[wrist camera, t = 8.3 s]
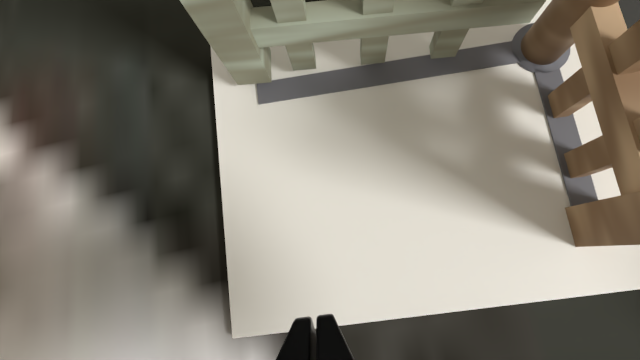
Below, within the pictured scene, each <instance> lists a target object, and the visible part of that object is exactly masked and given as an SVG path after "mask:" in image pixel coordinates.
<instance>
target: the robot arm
mask: <svg viewBox="0 0 640 360" xmlns="http://www.w3.org/2000/svg"><path fill="white" fill-rule="evenodd" d="M276 360H354V358H353V356H352V354H351V351H350V349H349V347H348V345H347V343H346V341H345V339H344V336H343V334H342V332H341V330H340V328H339V326H338V324H337V322H336V319H335V317H334V315H333V314H324V315H319V316H317V319H316V332H315V328H314V324H313V321H312V318H311V317H309V316H308V317H300V318H296V319H295V320H294V321H293V323H292V326H291V328H290V330H289V332H288V334H287V337H286V339H285V341H284V343H283V345H282V348H281V350H280V352H279V354H278V356H277V359H276Z"/></svg>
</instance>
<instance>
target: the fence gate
mask: <svg viewBox="0 0 640 360" xmlns="http://www.w3.org/2000/svg"><path fill="white" fill-rule="evenodd" d="M180 2H181V3H182V5H183V6H184V8H185V9H186V11H187V12H188V13H189V15H190V16H191V18H192V19H193V21H194V22H195V24H196V25H197V27H198V28H199V29H200V31H201V32H202V34H203V35H204V37H205V38H206V40H207V41H208V43H209V44H210V46H211V47H212V48H213V50H214V51H215V53H216V54H217V56H218V57H219V59H220V60H221V62H222V63H223V65H224V66H225V67H226V69H227V70H228V72H229V73H230V75H231V76H232V78H233V79H234V81H235V82H236V84H237V85H246V84H258V83H269V82H272V78H271V50H270V47H273V46H284V45H285V47H286V50H287V53H288V56H289V59H290V62H291V65H292V68H293V71H295V70H307V69H316V56H315V50H314V45H313V43H317V42H328V41H339V40H350V39H360V59H361V65H365V64H376V63H385V57H386V51H387V45H388V39H389V36H393V35H404V34H415V33H426V32H434V34H433V37H432V40H431V43H430V45H429V49H430V57H431V59H434V58H446V57H455V56H456V54H457V52H458V50H459V48H460V46H461V44H462V42H463V40H464V38H465V36H466V34H467V32H468V30H469V28H480V27H491V26H502V25H513V24H524V23H530V22H531V20H532V19H533V18H534V16H535V15H536V14H537V12H538V11H539V10H540V8H541V7H542V6H543V4H544V3H545V2H546V0H325V1H315V2H305V0H270V2H271V5H272V6H265V7H255V8H253V5H252V3H251V0H180Z"/></svg>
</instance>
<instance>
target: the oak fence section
mask: <svg viewBox="0 0 640 360" xmlns="http://www.w3.org/2000/svg"><path fill="white" fill-rule="evenodd" d="M618 1H619V0H552V1H551V2H550V4H549V5H548V6H547V7H546V9H545V10H544V11H543V13H542V14H541V15H540V16H539V18H538V19H537V20H536V22H535V23H534V24H533V25H532V27H531V28H530V29H529V31H528V32H527V33H526V34H525V36H524V37H523V39H522V41H521V51H522V54H523V55H524V57H525V58H526V59H527V60H529V61H530V62H532V63H534V64H538V65H548V64H551V63H553V62H555V61H556V60H557V59H558V58H559V57H561V56H562V55H563V54H564V53H565V52H566V51H567V50H568V49H569V48H570V47H571V46H572V45H573V44H574V43H575V46H576V50H577V53H578V56H579V60H580V63H581V66H582V68H580V69H579V70H578V71H577V72H575V73H574V74H573V75H572V76H571V77H569V78H568V79H567V80H566V81H565V82H563V83H562V84H561V85H560V86H558V87H557V88H556V89H555V90H554V91H552V92H551V93H550V94H549V95H548V99H549V103H550V106H551V110H552V113H553V117H554V118H559V117H566V116H570V115H571V114H573V113H574V112H576V111H577V110H579V109H581V108H582V107H584V106H585V105H587V104H588V103H590V102H591V101H592V102H593V105H594V109H595V112H596V115H597V118H598V122H599V125H600V128H601V132H602V136H600V137H598V138H596V139H594V140H592V141H590V142H588V143H585V144H583V145H581V146H579V147H577V148H575V149H573V150H571V151H569V152H567V153H565V154H564V156H565V160H566V163H567V167H568V171H569V174H570V178H577V177H584V176H588V175H591V174H594V173H597V172H600V171H603V170H606V169H609V168H613V171H614V174H615V177H616V181H617V184H618V187H619V190H620V194H621V195H620V196H616V197H611V198H607V199H602V200H598V201H593V202H589V203H584V204H580V205H575V206H571V207H566V208H565V210H566V214H567V218H568V221H569V225H570V229H571V232H572V236H573V240H574V243H575V247H588V246H617V245H640V20H639V21H638V22H636V23H635V24H634V25H633V26H631V27H630V28H629V29H628V30H627V27H626V24H625V21H624V18H623V15H622V12H621V10H620V7H619V4H618Z"/></svg>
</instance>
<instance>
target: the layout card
mask: <svg viewBox="0 0 640 360" xmlns="http://www.w3.org/2000/svg"><path fill="white" fill-rule="evenodd" d="M551 1H552V0H546V2H545V3H544V4H543V6H542V7H541V8H540V10H539V11H538V12H537V14H536V15H535V16H534V18H533V19H532V20H531V22H530V23H524V24H513V25H502V26H491V27H480V28H469V30H468V32H467V34H466V36H465V38H464V40H463V42H462V44H461V46H460V48H459V50H458V52H457V54H456V56H455V57H446V58H434V59H431V57H430V49H429V45H430V43H431V40H432V37H433V34H434V32H426V33H415V34H404V35H393V36H389V39H388V45H387V51H386V57H385V63H376V64H365V65H361V59H360V39H350V40H339V41H328V42H317V43H313V45H314V50H315V56H316V69H307V70H295V71H293V68H292V65H291V62H290V59H289V56H288V53H287V50H286V47H285V45H284V46H273V47H270V50H271V78H272V82H269V83H258V84H246V85H237V84H236V82H235V81H234V79H233V78H232V76H231V75H230V73H229V72H228V70H227V69H226V67H225V66H224V65H223V63H222V62H221V60H220V59H219V57H218V56H217V54H216V53H215V51H214V50H213V48H212V47H211V60H212V73H213V86H214V100H215V113H216V126H217V140H218V153H219V166H220V180H221V193H222V206H223V220H224V233H225V246H226V260H227V273H228V286H229V300H230V313H231V326H232V339H234V338H242V337H251V336H259V335H267V334H275V333H283V332H289V330H290V328H291V326H292V323H293V321H294V320H295V319H296V318H300V317H308V316H309V317H311V318H312V321H313V324H314V328H315V329H316V319H317V316H319V315H324V314H333V315H334V317H335V319H336V322H337V324H338V326H341V325H349V324H358V323H366V322H374V321H382V320H391V319H399V318H407V317H415V316H423V315H432V314H440V313H448V312H456V311H465V310H473V309H481V308H489V307H498V306H506V305H514V304H522V303H531V302H539V301H547V300H555V299H564V298H572V297H580V296H588V295H596V294H605V293H613V292H621V291H629V290H638V289H640V245H617V246H588V247H575V243H574V240H573V236H572V232H571V229H570V225H569V221H568V218H567V214H566V210H565V208H566V207H571V206H575V205H580V204H584V203H589V202H593V201H598V200H602V199H607V198H611V197H616V196H620V195H621V194H620V190H619V187H618V184H617V181H616V177H615V174H614V171H613V168H609V169H606V170H603V171H600V172H597V173H594V174H591V175H588V176H584V177H577V178H570V174H569V171H568V167H567V163H566V160H565V156H564V154H565V153H567V152H569V151H571V150H573V149H575V148H577V147H579V146H581V145H583V144H585V143H588V142H590V141H592V140H594V139H596V138H598V137H600V136H602V132H601V128H600V125H599V122H598V118H597V115H596V112H595V109H594V105H593V102H592V101H591V102H590V103H588V104H587V105H585V106H584V107H582V108H581V109H579V110H577V111H576V112H574V113H573V114H571V115H570V116H566V117H559V118H554V117H553V113H552V110H551V106H550V103H549V99H548V95H549V94H550V93H551V92H552V91H554V90H555V89H556V88H557V87H558V86H560V85H561V84H562V83H563V82H565V81H566V80H567V79H568V78H569V77H571V76H572V75H573V74H574V73H575V72H577V71H578V70H579V69H580V68H582V66H581V63H580V60H579V56H578V53H577V50H576V46H575V43H574V44H573V45H572V46H571V47H570V48H569V49H568V50H567V51H566V52H565V53H564V54H563V55H562V56H561V57H559V58H558V59H557V60H556V61H555V62H553V63H551V64H548V65H538V64H534V63H532V62H530V61H529V60H527V59H526V58H525V57H524V55H523V54H522V51H521V41H522V39H523V37H524V36H525V34H526V33H527V32H528V31H529V29H530V28H531V27H532V25H533V24H534V23H535V22H536V20H537V19H538V18H539V16H540V15H541V14H542V13H543V11H544V10H545V9H546V7H547V6H548V5H549V4H550V2H551Z"/></svg>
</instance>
